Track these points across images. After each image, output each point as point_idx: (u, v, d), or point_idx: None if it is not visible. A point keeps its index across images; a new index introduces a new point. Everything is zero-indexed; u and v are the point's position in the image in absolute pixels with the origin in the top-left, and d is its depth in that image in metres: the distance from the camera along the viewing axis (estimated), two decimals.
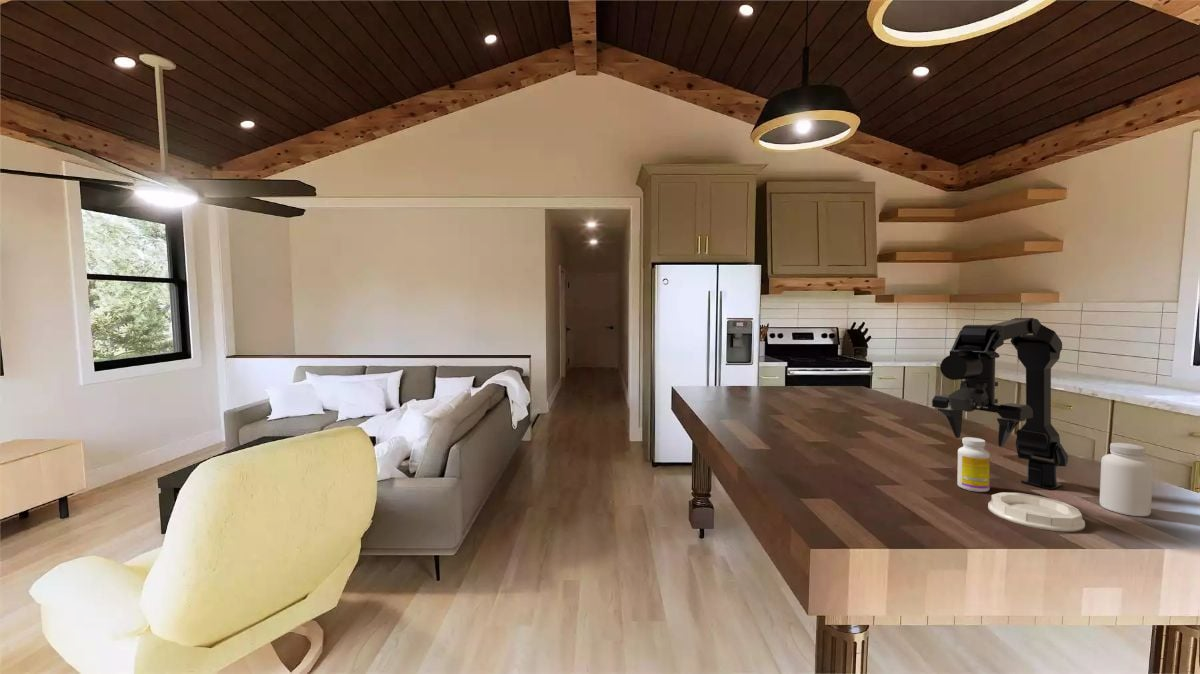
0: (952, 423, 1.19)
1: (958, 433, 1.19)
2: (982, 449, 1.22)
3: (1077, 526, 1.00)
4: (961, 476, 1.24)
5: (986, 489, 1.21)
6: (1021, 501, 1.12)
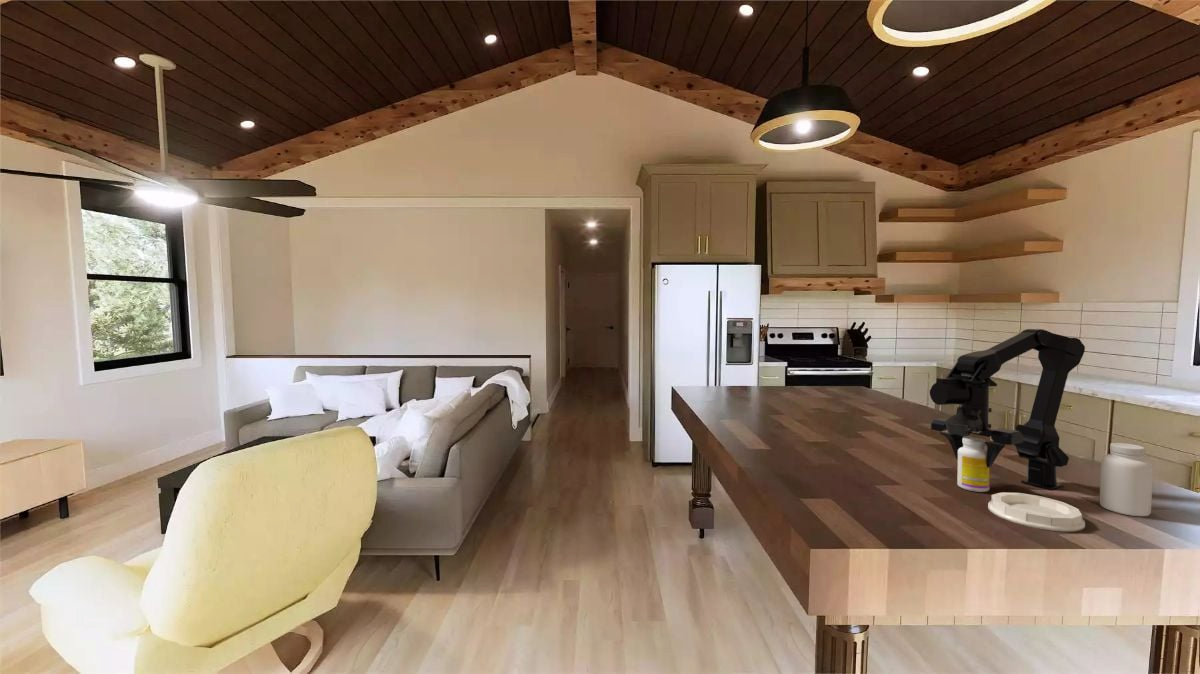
0: (953, 446, 1.27)
1: None
2: (982, 449, 1.22)
3: (1077, 526, 1.00)
4: (961, 476, 1.24)
5: (986, 489, 1.21)
6: (1021, 501, 1.12)
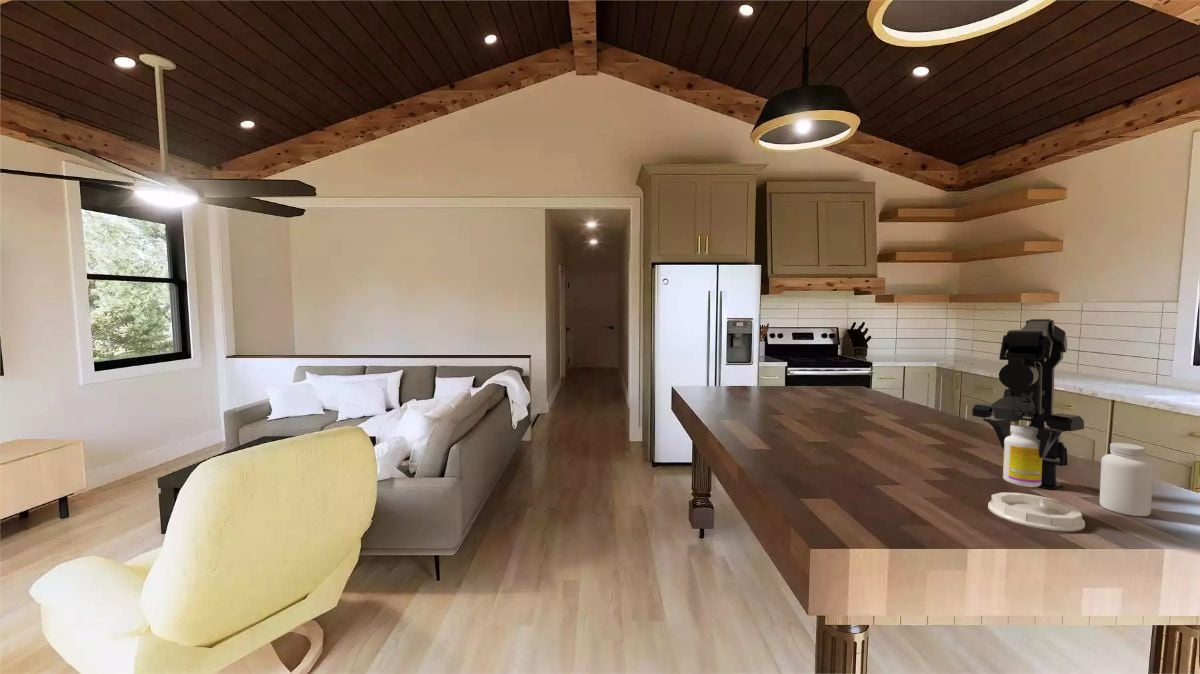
0: (999, 434, 1.12)
1: None
2: (1034, 438, 1.07)
3: (1077, 526, 1.00)
4: (1009, 468, 1.09)
5: (1038, 483, 1.06)
6: (1021, 501, 1.12)
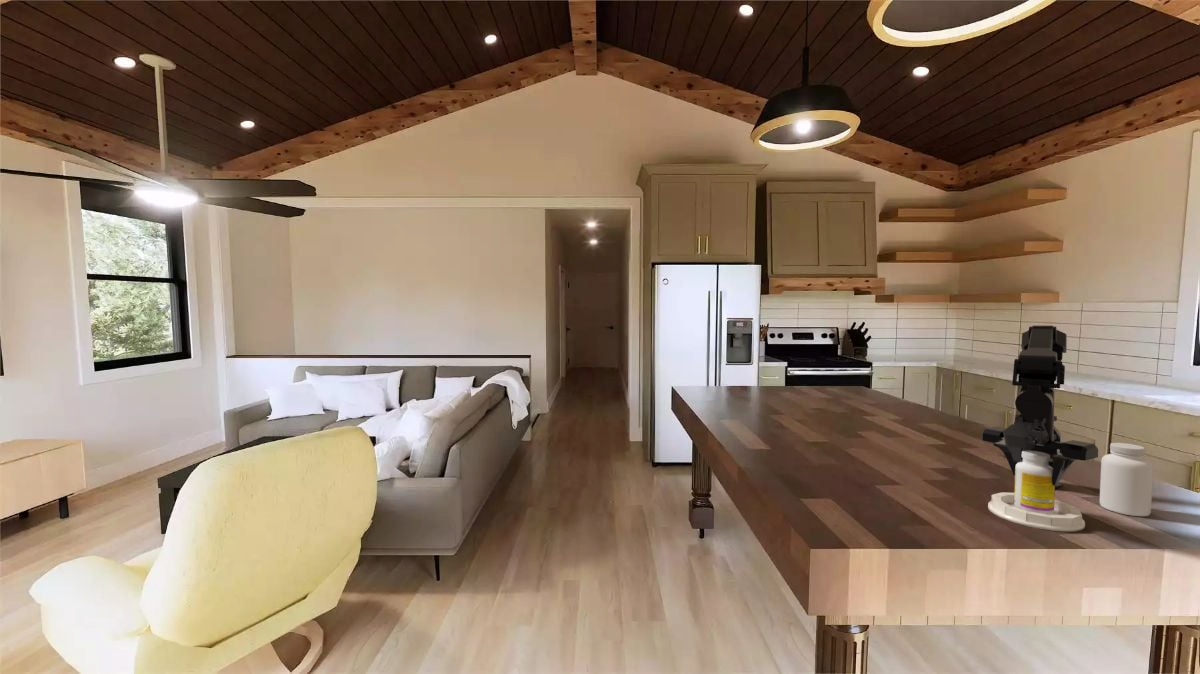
0: (1010, 460, 1.10)
1: None
2: (1046, 465, 1.05)
3: (1077, 526, 1.00)
4: (1020, 496, 1.07)
5: (1051, 512, 1.04)
6: None
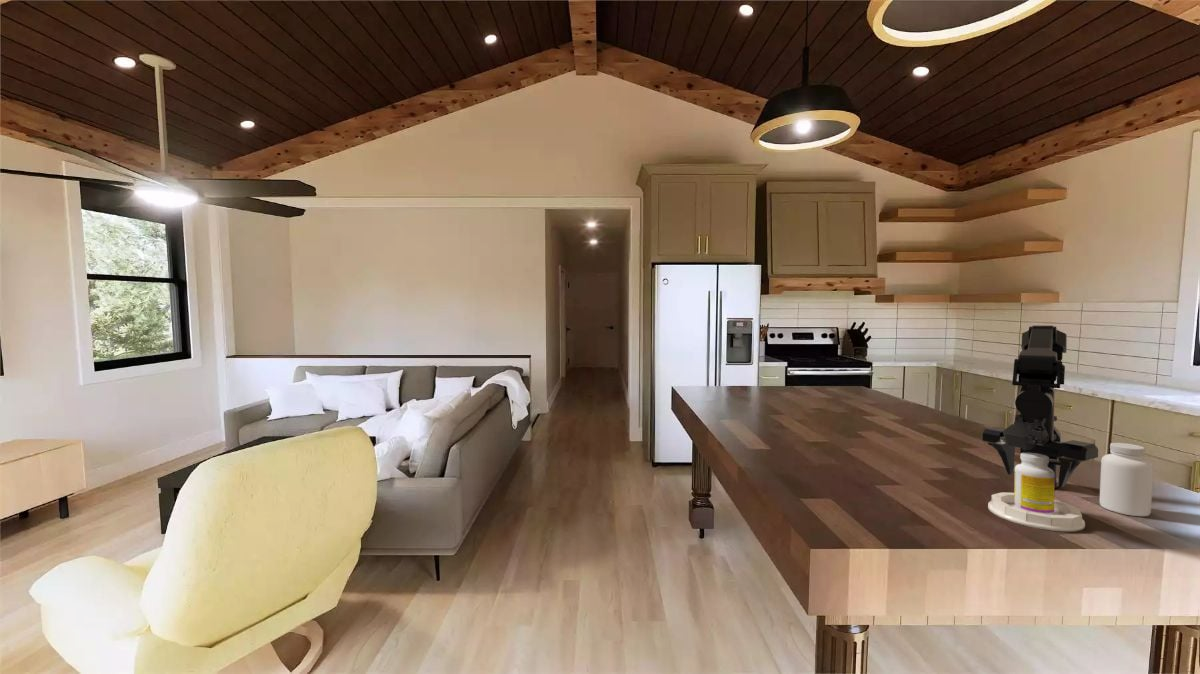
0: (1004, 459, 1.11)
1: (1011, 469, 1.11)
2: (1045, 467, 1.05)
3: (1077, 526, 1.00)
4: (1020, 498, 1.07)
5: (1051, 514, 1.04)
6: None
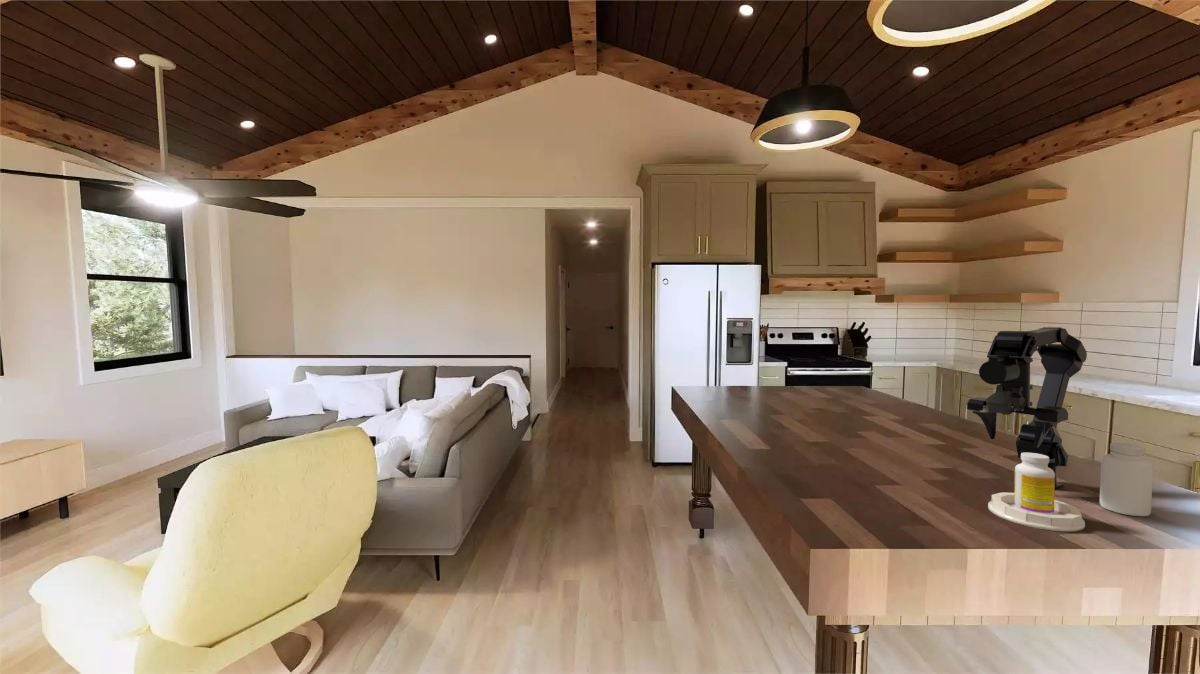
0: (987, 425, 1.24)
1: (993, 434, 1.24)
2: (1046, 467, 1.05)
3: (1077, 526, 1.00)
4: (1020, 498, 1.07)
5: (1051, 514, 1.04)
6: None
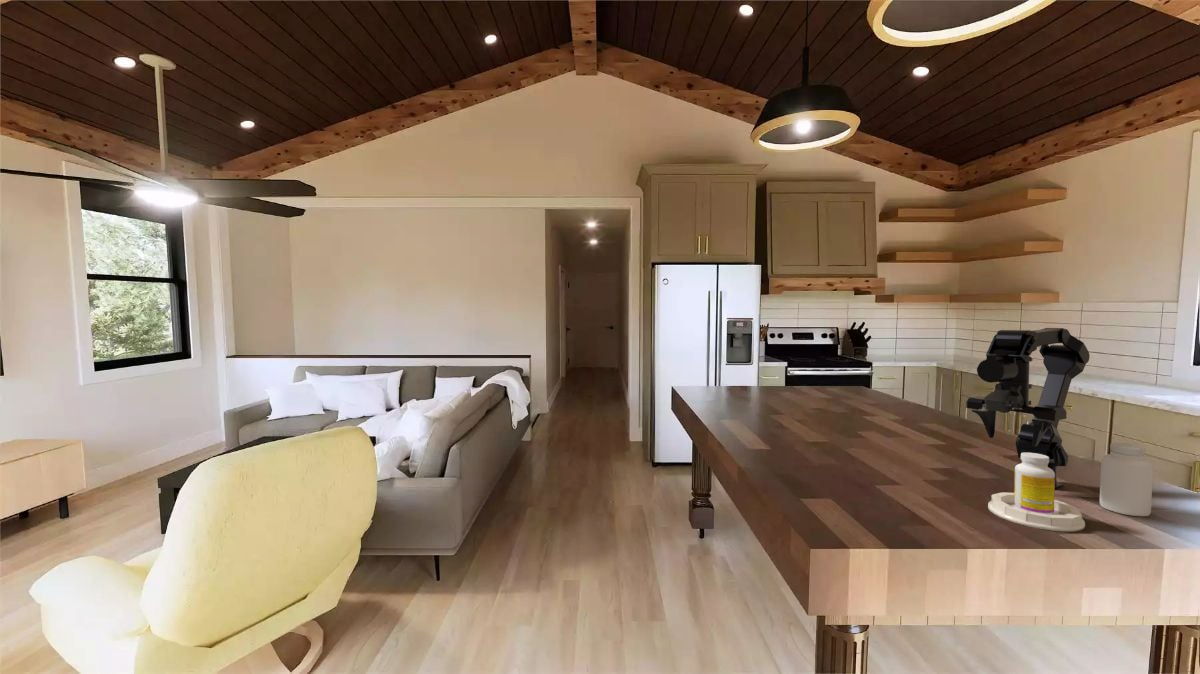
0: (986, 424, 1.25)
1: (992, 433, 1.24)
2: (1046, 467, 1.05)
3: (1077, 526, 1.00)
4: (1020, 498, 1.07)
5: (1051, 514, 1.04)
6: None
